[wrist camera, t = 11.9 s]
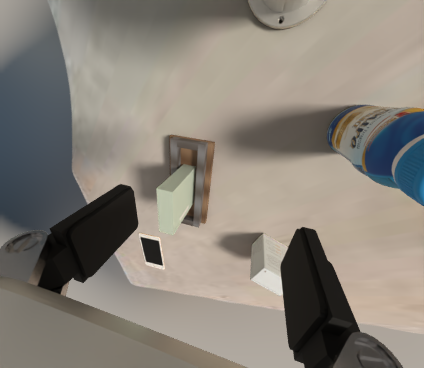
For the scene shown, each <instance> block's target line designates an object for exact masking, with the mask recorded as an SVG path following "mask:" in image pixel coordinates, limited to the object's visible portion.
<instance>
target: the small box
mask: <svg viewBox="0 0 424 368" xmlns="http://www.w3.org/2000/svg"><path fill="white" fill-rule="evenodd" d="M287 249H288V247H287V246H286V245H284V244H282V243H280V242H278V241H277V240H275V239H273V238H271V237H269V236H268V235H266V234H264V233H263V234H262V235H261V236H260V237H259V238H258V239H257V240H256V241H255V242H254V243H253V244H252V250H251V274H250V280H252V281H253V282H255V283H257V284H259V285H261V286H263V287H264V288H266V289H268V290H270V291H272V292H273V293H275V294H277V295H279V296H281V295H283V290H282V280H281V271H280V266H281V262H282V260H283V258H284V256H285V253H286V251H287Z"/></svg>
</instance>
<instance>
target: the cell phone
mask: <svg viewBox="0 0 424 368" xmlns="http://www.w3.org/2000/svg"><path fill="white" fill-rule="evenodd" d="M139 239H140V243H141V247H142V251H143V255H144V260H145V264H146V265H148V266H152V267H156V268H160V269H165V267H164V261H163V254H162V248H161V242H160V238H159V237H156V236H152V235H147V234H143V233H139Z"/></svg>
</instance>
